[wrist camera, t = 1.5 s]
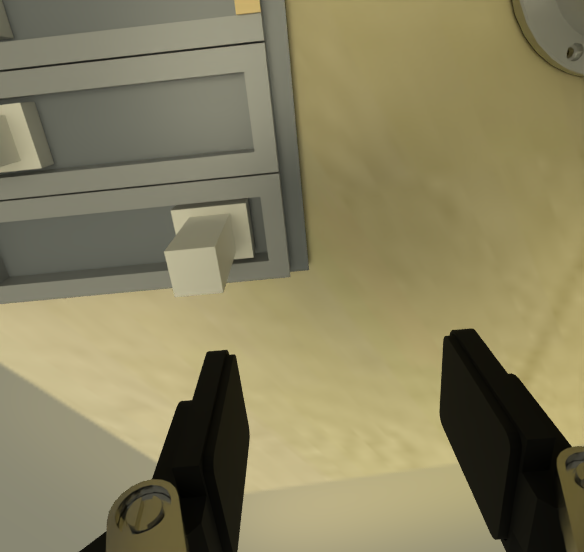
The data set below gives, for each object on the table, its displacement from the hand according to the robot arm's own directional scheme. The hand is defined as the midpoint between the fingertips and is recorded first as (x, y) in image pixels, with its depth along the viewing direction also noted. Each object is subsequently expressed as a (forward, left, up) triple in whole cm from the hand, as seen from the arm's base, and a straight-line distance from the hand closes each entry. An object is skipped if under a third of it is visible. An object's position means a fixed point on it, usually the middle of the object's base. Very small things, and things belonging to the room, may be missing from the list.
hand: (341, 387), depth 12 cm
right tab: (+6, 0, -16) cm, 17 cm away
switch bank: (+11, -7, -18) cm, 22 cm away
